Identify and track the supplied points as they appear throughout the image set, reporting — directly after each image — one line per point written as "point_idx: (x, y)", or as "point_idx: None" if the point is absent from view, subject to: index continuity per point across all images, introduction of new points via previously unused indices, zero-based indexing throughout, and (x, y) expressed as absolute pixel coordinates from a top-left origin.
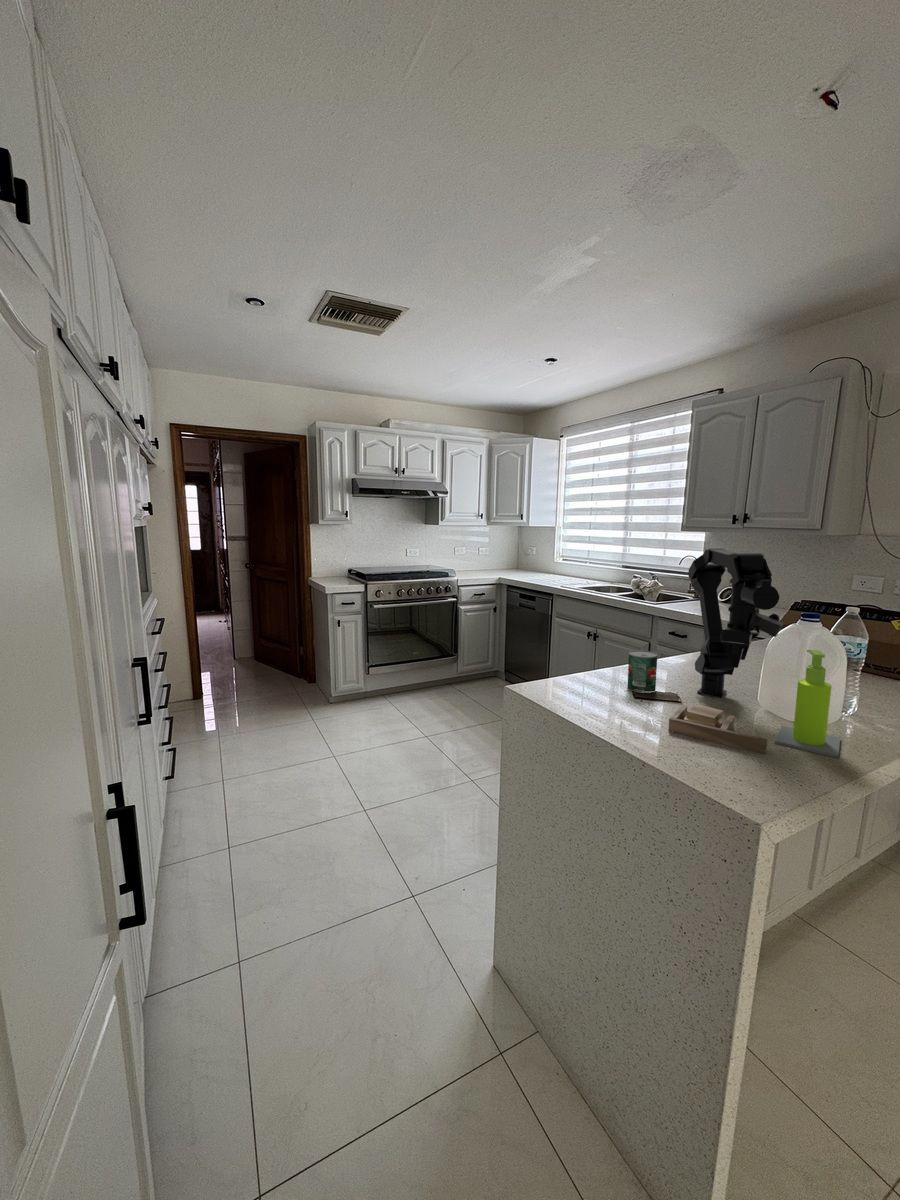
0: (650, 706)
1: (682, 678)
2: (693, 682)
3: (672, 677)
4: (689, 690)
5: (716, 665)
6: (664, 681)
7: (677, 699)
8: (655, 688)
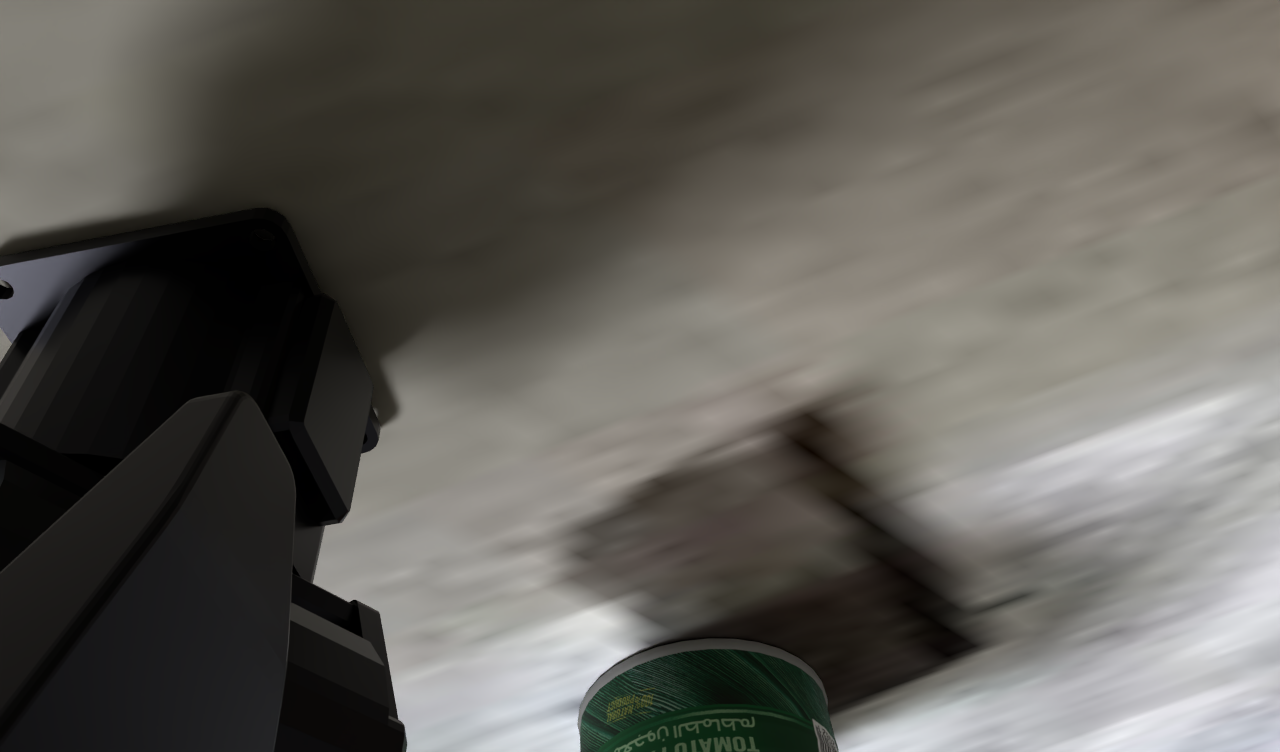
0: (1119, 507)
1: None
2: None
3: None
4: None
5: (292, 635)
6: None
7: (733, 463)
8: (663, 671)
